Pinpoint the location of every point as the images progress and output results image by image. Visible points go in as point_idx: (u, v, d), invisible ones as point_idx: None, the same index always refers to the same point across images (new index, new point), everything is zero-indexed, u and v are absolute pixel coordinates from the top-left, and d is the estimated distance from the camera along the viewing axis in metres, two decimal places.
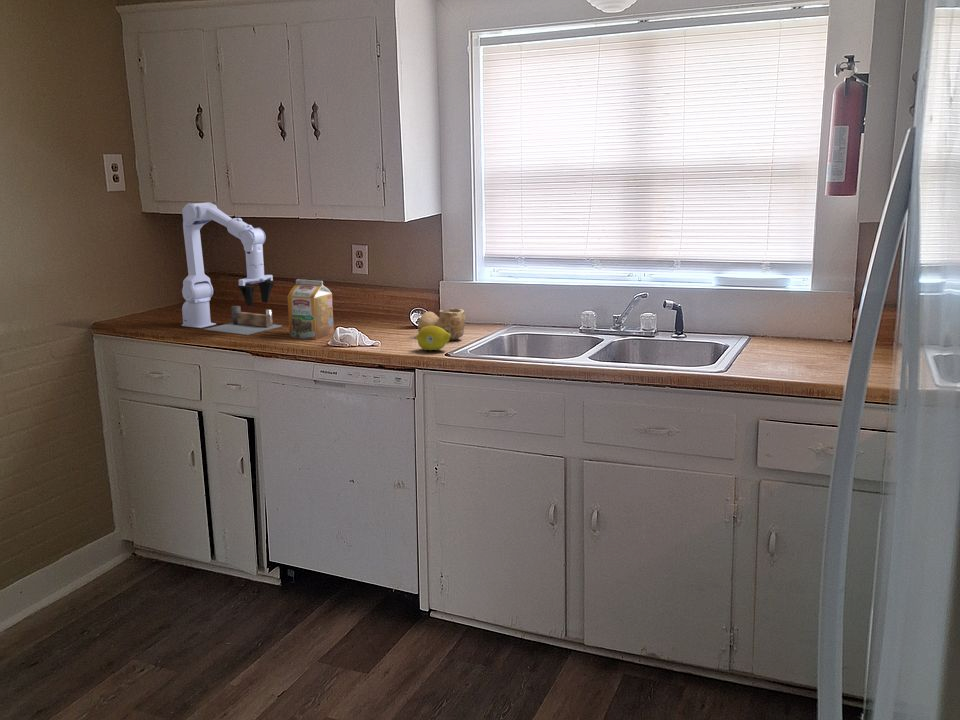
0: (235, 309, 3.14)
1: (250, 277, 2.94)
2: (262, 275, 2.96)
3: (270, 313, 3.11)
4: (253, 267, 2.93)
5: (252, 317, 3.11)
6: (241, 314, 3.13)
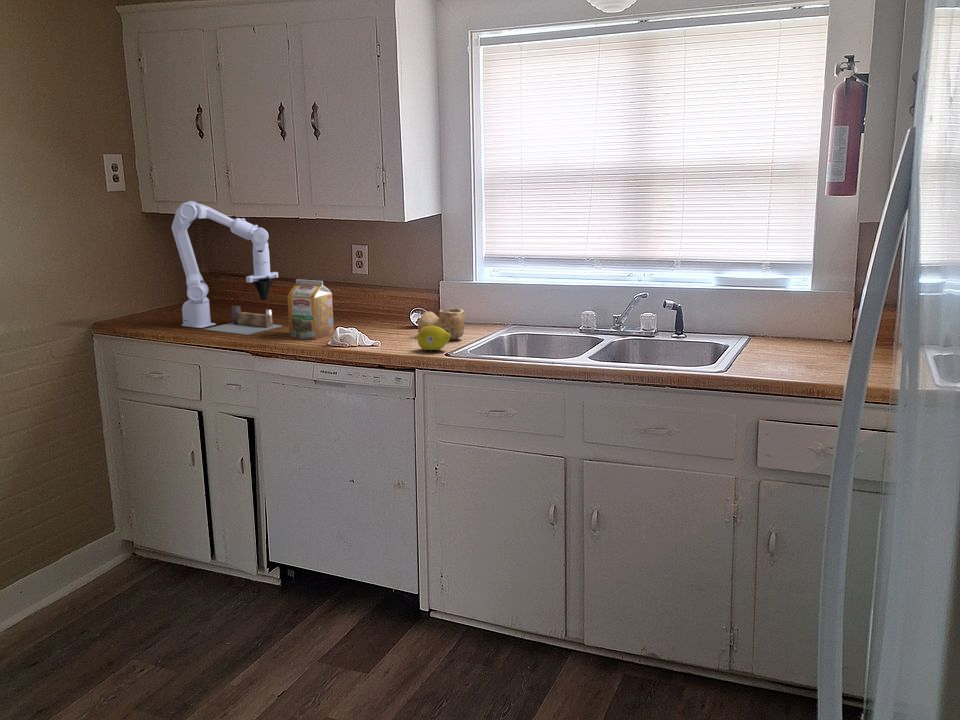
0: (235, 309, 3.14)
1: (257, 274, 3.11)
2: (268, 272, 3.13)
3: (270, 313, 3.11)
4: (260, 265, 3.10)
5: (252, 317, 3.11)
6: (241, 314, 3.13)
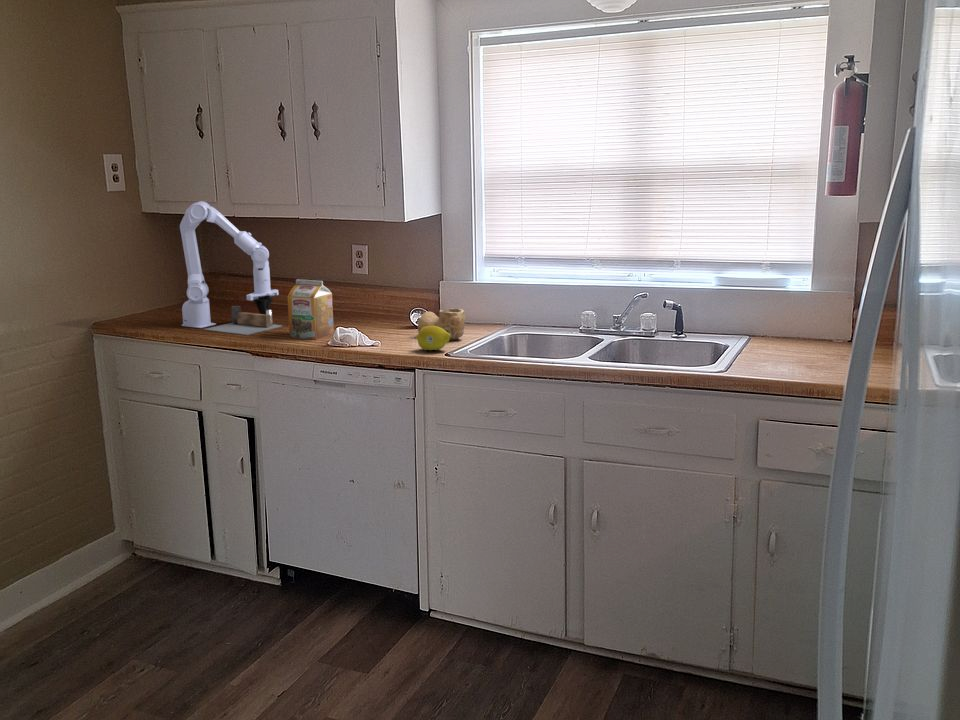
0: (235, 309, 3.14)
1: (257, 292, 3.12)
2: (269, 290, 3.14)
3: (270, 313, 3.11)
4: (260, 283, 3.11)
5: (252, 317, 3.11)
6: (241, 314, 3.13)
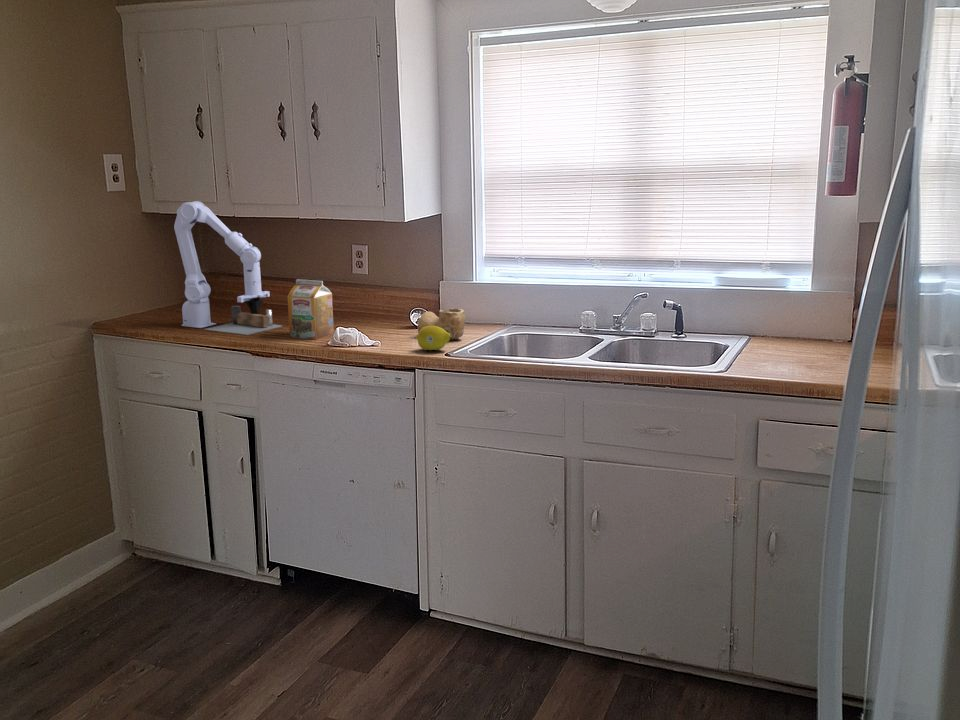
0: (235, 309, 3.14)
1: (248, 294, 3.08)
2: (259, 292, 3.10)
3: (270, 313, 3.11)
4: (251, 284, 3.07)
5: (250, 317, 3.10)
6: (240, 314, 3.13)
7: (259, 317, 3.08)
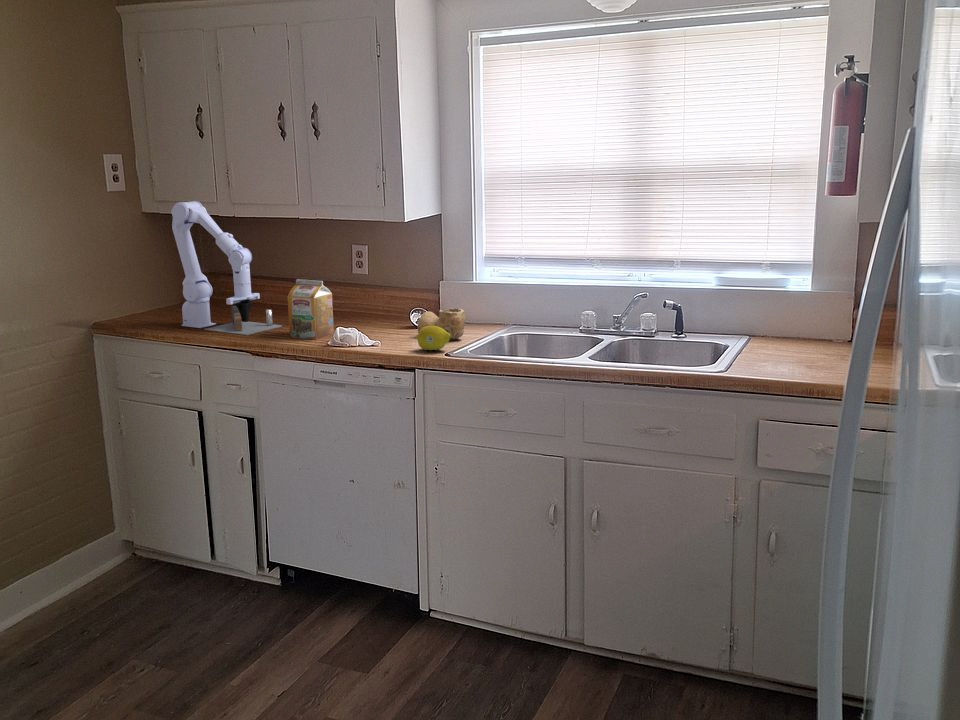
0: (232, 309, 3.14)
1: (237, 296, 3.04)
2: (249, 294, 3.05)
3: (270, 313, 3.11)
4: (240, 286, 3.03)
5: None
6: None
7: (235, 320, 3.03)
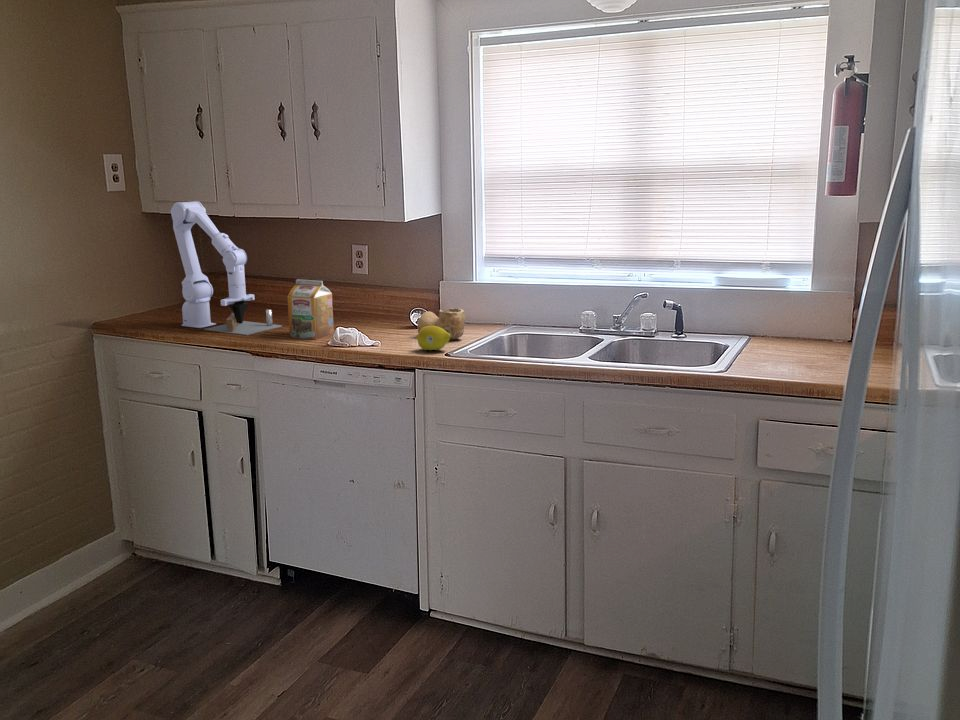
0: None
1: (232, 297, 3.02)
2: (244, 295, 3.03)
3: (270, 313, 3.11)
4: (235, 287, 3.01)
5: None
6: None
7: None
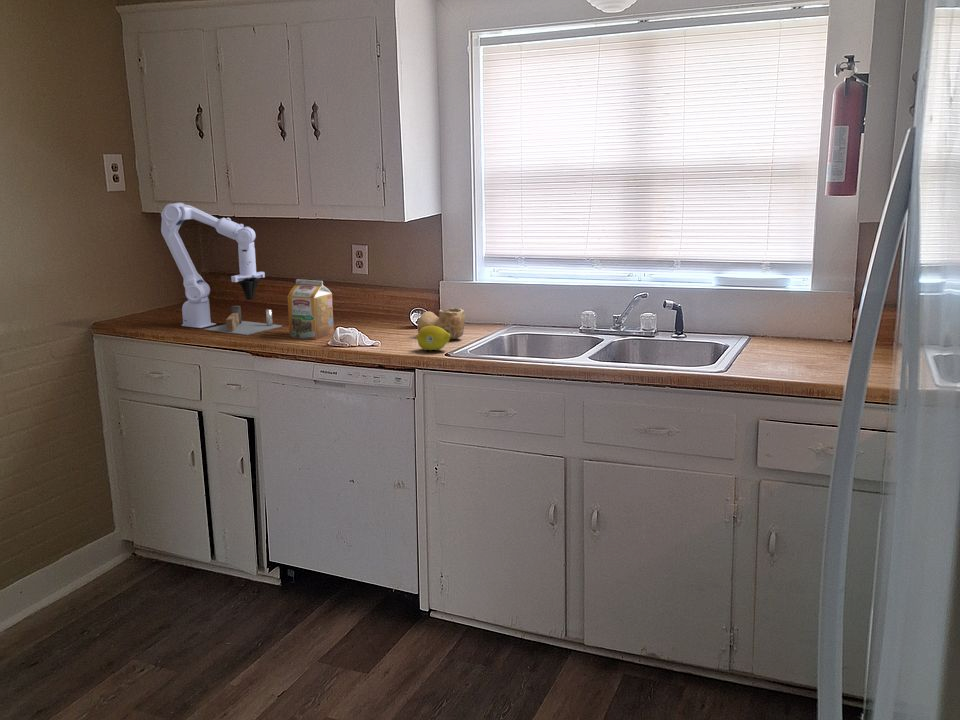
0: (232, 309, 3.14)
1: (242, 274, 3.08)
2: (254, 272, 3.09)
3: (270, 313, 3.11)
4: (245, 264, 3.07)
5: None
6: None
7: None
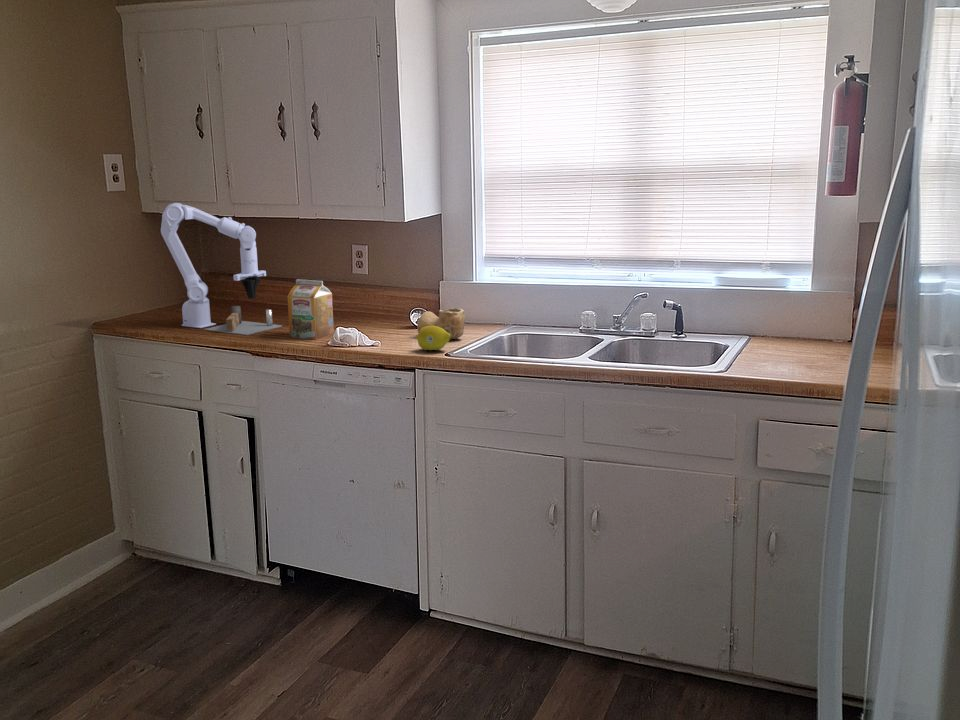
0: (232, 309, 3.14)
1: (244, 272, 3.11)
2: (256, 270, 3.13)
3: (270, 313, 3.11)
4: (247, 263, 3.10)
5: None
6: None
7: None
